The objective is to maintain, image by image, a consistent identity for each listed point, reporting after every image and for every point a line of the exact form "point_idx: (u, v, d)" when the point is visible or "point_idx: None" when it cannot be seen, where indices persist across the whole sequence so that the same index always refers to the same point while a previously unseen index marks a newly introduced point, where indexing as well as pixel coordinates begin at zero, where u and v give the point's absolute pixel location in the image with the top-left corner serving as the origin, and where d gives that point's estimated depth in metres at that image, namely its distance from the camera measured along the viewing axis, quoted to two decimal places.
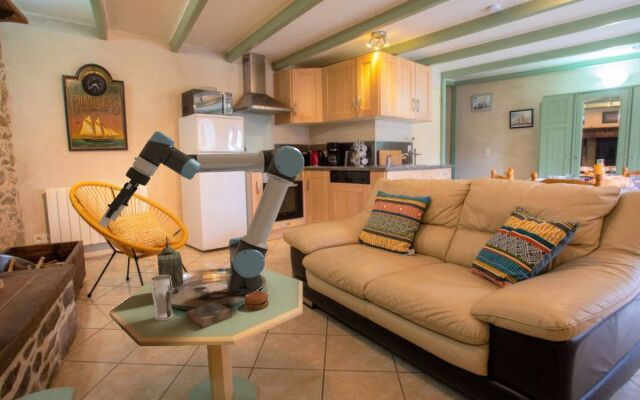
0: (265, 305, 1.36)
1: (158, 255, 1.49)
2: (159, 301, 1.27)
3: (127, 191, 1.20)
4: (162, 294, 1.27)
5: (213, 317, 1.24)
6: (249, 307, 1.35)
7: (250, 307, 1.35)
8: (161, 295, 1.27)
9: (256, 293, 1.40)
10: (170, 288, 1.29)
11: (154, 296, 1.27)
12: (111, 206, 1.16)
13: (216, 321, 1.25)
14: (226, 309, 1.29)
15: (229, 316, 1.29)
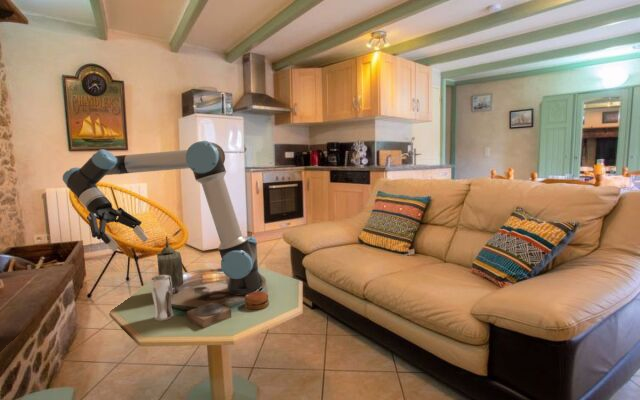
0: (265, 305, 1.36)
1: (158, 255, 1.49)
2: (159, 301, 1.27)
3: (91, 219, 1.25)
4: (162, 294, 1.27)
5: (213, 317, 1.24)
6: (249, 307, 1.35)
7: (250, 307, 1.35)
8: (161, 295, 1.27)
9: (256, 293, 1.40)
10: (170, 288, 1.29)
11: (154, 296, 1.27)
12: (93, 236, 1.22)
13: (216, 321, 1.25)
14: (226, 309, 1.29)
15: (229, 316, 1.29)
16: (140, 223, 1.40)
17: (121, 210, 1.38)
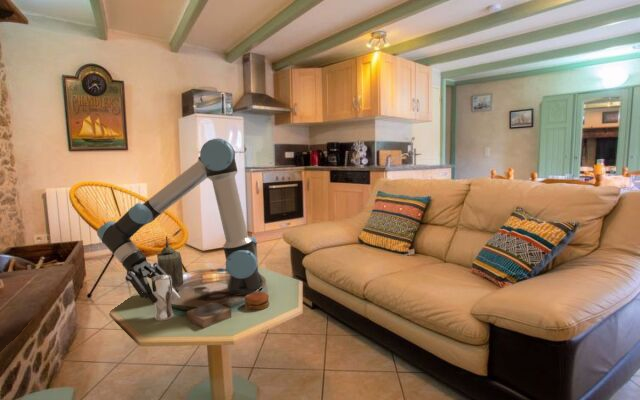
0: (265, 305, 1.36)
1: (158, 255, 1.49)
2: None
3: (133, 279, 1.25)
4: (162, 294, 1.27)
5: (213, 317, 1.24)
6: (249, 307, 1.35)
7: (250, 307, 1.35)
8: (161, 295, 1.27)
9: (256, 293, 1.39)
10: (170, 288, 1.29)
11: None
12: (142, 296, 1.24)
13: (216, 321, 1.25)
14: (226, 309, 1.29)
15: (229, 316, 1.29)
16: None
17: (156, 265, 1.36)
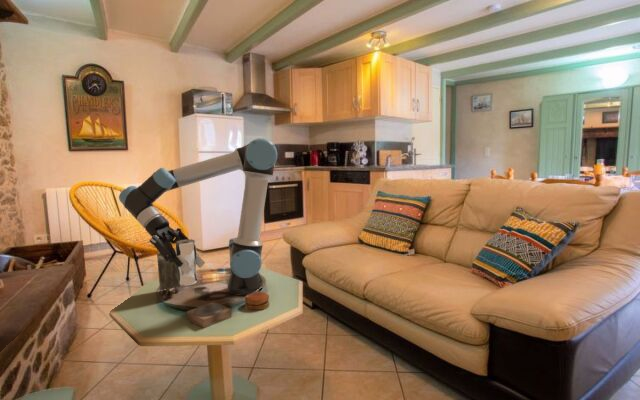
0: (266, 306, 1.36)
1: (158, 255, 1.49)
2: None
3: (157, 242, 1.22)
4: (187, 258, 1.23)
5: (213, 317, 1.24)
6: (249, 307, 1.35)
7: (250, 307, 1.34)
8: (186, 259, 1.23)
9: (257, 293, 1.39)
10: (195, 252, 1.26)
11: None
12: (167, 259, 1.20)
13: (216, 321, 1.25)
14: (226, 309, 1.29)
15: (229, 316, 1.29)
16: None
17: (179, 231, 1.33)
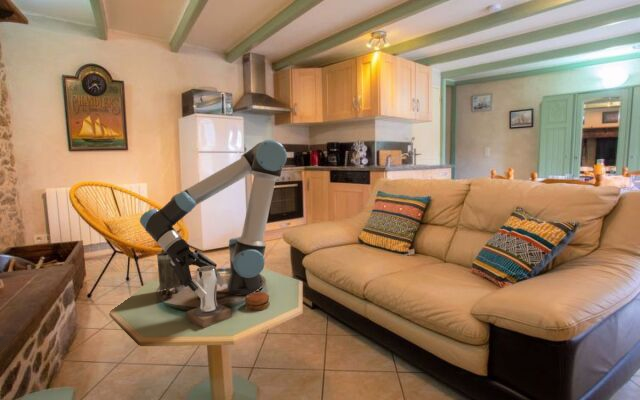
0: (266, 306, 1.36)
1: (158, 255, 1.49)
2: None
3: (176, 265, 1.22)
4: (208, 285, 1.24)
5: (213, 317, 1.24)
6: (250, 308, 1.34)
7: (251, 308, 1.34)
8: (207, 286, 1.24)
9: (257, 294, 1.39)
10: (216, 279, 1.27)
11: None
12: (182, 284, 1.19)
13: (216, 321, 1.25)
14: (226, 309, 1.29)
15: (229, 316, 1.29)
16: (215, 266, 1.35)
17: (198, 252, 1.34)
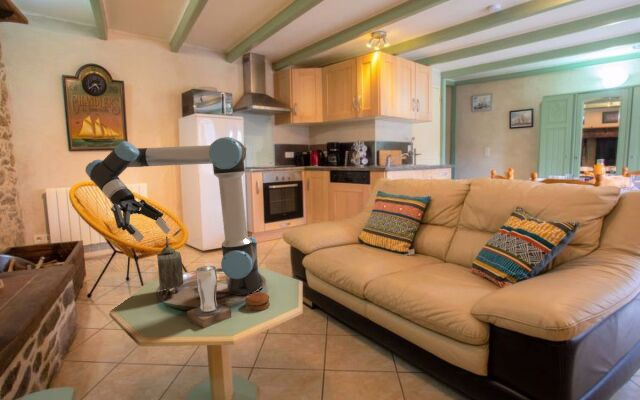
0: (266, 306, 1.35)
1: (158, 255, 1.49)
2: (204, 292, 1.25)
3: (116, 210, 1.25)
4: (208, 285, 1.25)
5: (213, 317, 1.24)
6: (250, 308, 1.34)
7: (251, 308, 1.34)
8: (207, 286, 1.24)
9: (257, 294, 1.39)
10: (215, 279, 1.27)
11: (200, 287, 1.25)
12: (119, 226, 1.22)
13: (216, 321, 1.25)
14: (226, 309, 1.29)
15: (229, 316, 1.29)
16: (162, 215, 1.40)
17: (143, 202, 1.38)
